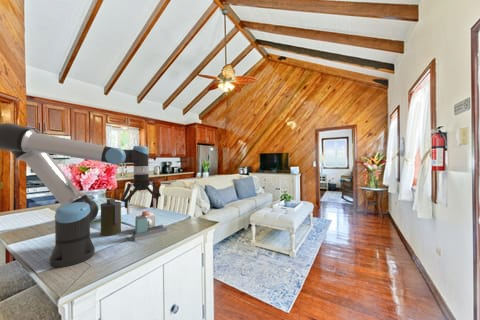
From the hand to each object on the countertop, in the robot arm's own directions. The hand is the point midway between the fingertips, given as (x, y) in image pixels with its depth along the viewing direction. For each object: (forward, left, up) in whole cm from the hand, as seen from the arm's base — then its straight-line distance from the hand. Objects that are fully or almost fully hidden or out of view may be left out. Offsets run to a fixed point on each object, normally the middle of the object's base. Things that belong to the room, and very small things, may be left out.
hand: (141, 211), depth 110 cm
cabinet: (+5, +11, -14) cm, 19 cm away
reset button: (+5, +11, -7) cm, 14 cm away
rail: (+4, 0, -14) cm, 15 cm away
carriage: (0, 0, -13) cm, 13 cm away
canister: (-12, +18, -15) cm, 26 cm away
